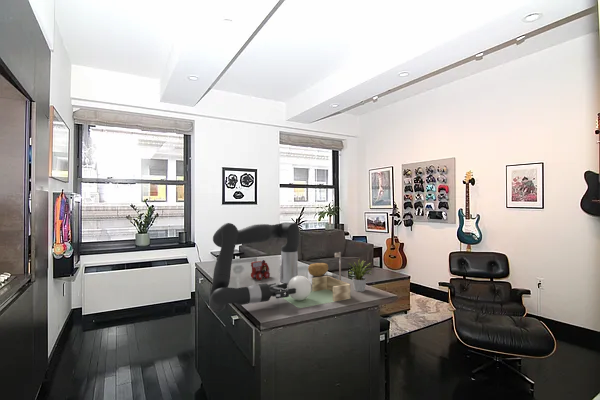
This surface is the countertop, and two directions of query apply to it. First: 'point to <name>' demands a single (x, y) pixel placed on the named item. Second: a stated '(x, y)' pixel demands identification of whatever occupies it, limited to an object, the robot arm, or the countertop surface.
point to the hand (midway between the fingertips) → (291, 288)
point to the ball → (300, 287)
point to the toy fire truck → (260, 270)
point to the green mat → (313, 299)
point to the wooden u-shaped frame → (333, 284)
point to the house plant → (359, 276)
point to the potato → (318, 269)
